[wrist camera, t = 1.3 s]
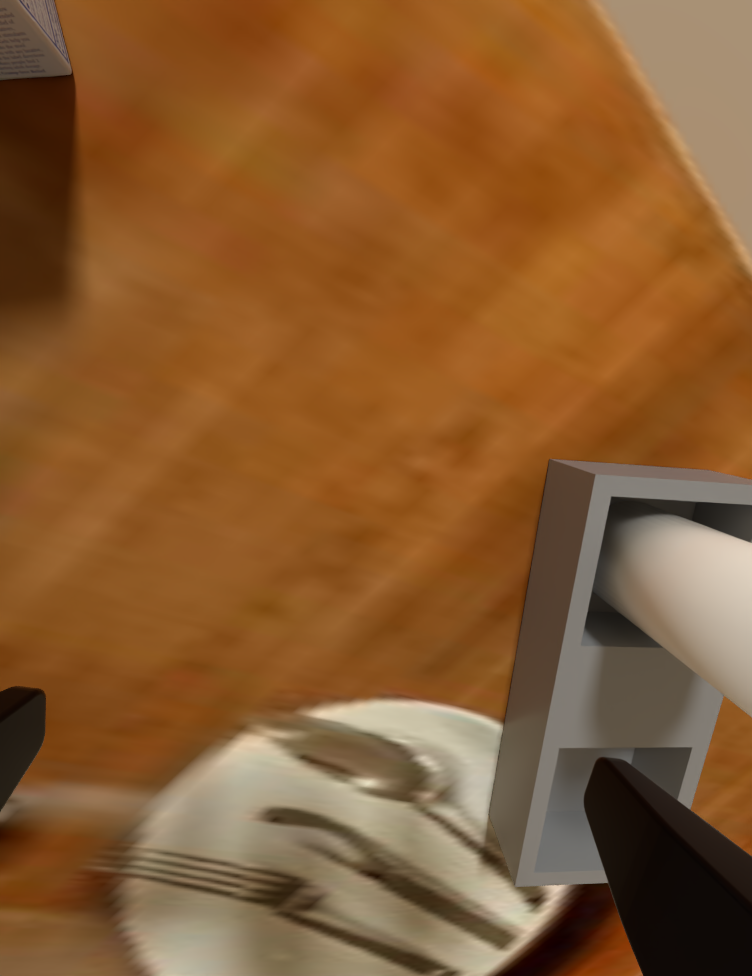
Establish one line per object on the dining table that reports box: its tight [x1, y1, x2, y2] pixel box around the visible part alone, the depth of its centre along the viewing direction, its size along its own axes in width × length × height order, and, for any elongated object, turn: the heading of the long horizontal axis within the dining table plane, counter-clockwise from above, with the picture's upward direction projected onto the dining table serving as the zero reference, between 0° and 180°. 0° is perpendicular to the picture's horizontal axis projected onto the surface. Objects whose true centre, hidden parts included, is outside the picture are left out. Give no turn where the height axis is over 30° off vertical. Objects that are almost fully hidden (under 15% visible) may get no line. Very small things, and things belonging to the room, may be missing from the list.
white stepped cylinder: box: [592, 501, 752, 717], centre depth 15 cm, size 5×5×12 cm
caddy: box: [489, 459, 752, 887], centre depth 21 cm, size 8×20×4 cm, turn 175°
